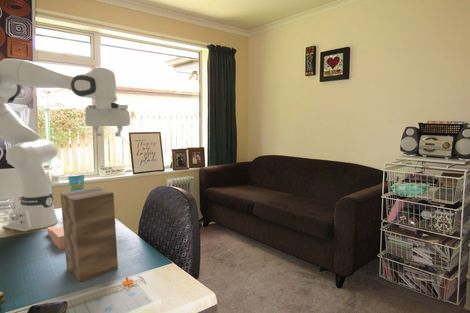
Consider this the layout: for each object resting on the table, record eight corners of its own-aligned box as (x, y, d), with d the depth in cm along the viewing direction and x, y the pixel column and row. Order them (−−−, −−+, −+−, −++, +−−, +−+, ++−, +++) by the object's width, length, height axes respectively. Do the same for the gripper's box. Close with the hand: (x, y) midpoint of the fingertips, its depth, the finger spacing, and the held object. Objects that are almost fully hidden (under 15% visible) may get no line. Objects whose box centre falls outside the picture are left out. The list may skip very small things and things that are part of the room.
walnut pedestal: (66, 268, 104) (60, 193, 100) (102, 256, 112) (97, 186, 108) (80, 282, 95) (74, 200, 92) (117, 268, 104) (113, 192, 100)
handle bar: (45, 234, 132) (44, 223, 131) (58, 231, 136) (57, 220, 135) (60, 249, 118) (58, 237, 117) (74, 245, 122) (73, 233, 121)
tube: (71, 213, 159) (68, 177, 157) (70, 211, 163) (67, 175, 161) (87, 211, 164) (84, 175, 161) (85, 208, 168) (83, 174, 165)
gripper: (80, 105, 135) (83, 136, 137) (123, 104, 132) (125, 137, 134) (90, 105, 141) (92, 135, 143) (131, 105, 138) (132, 136, 140)
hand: (108, 136), depth 138 cm, fingers open, 8 cm apart
